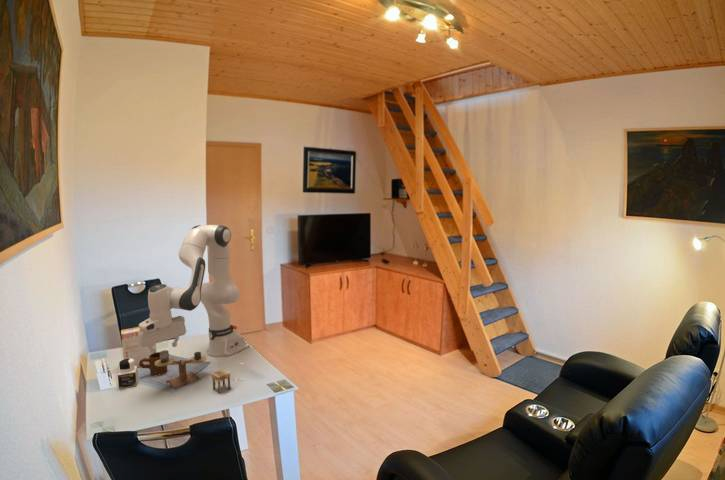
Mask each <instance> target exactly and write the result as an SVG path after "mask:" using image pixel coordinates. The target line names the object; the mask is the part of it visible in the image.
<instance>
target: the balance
mask: <svg viewBox="0 0 725 480" xmlns="http://www.w3.org/2000/svg"><path fill="white" fill-rule="evenodd" d="M193 354H194V356H192V357H190V358H189V359H188V360H186V359H185V360H183V359H180V360H176V361H175V358H174V357H169V361H168V362H166V363H161V362H160V359H159V360H157V361H156V362H155V366H167V367H168V366H172V365H173V366H175V365H178V374H179V375H178V376H176V377H174V378H171V379H167V380H166V382H167V383H169V384H170V385H171V386H172V387H173V388H172V387H171V386H170V385H169V386H170V387H171V388H172V389H174V390H177V389H180V388H182V387H185V386H187V385H190V384H192V383H195V382H198V381H200V380H201V377H200V376H199V375H197V374H195V373H194V372H192V371H190V372H187V364H193V365H195V364H201V363H204V362H206V361H207V359H208V357H207V356H206V355H202V352H201V351H195V352H194V353H193ZM167 383H166V384H167Z"/></svg>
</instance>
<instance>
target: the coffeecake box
mask: <svg viewBox="0 0 725 480" xmlns="http://www.w3.org/2000/svg"><path fill="white" fill-rule="evenodd" d="M139 330H140V328H139V326H136V327H131V328H125V329H121V330H120V336H121V346H122V355H123V360H124V359H128V358H131V359H134V364H135V366H137V369H138V368H141V367H140V365H139V362H140V360H141V359H143V358H149V356H150V355H151V350H150V349H149V348H148V347H147V346H146V347H141V346H139V345H138V331H139ZM151 348H152V349H156V351H155V352H156V353H157V343H156V344H153V345H152V347H151ZM143 364H144V365H147V364H148V365H150V364H149V362H145V361H144V362H143Z"/></svg>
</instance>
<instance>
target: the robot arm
mask: <svg viewBox="0 0 725 480" xmlns="http://www.w3.org/2000/svg"><path fill="white" fill-rule="evenodd" d="M231 237H232V234H231V230H230V229H229V227H227V226H225V225H222V224H221V225H219V224H205V225H204V224H203V225H201V224H200V225H199V224H198V225H195V226H193V227H191V228H190V230H189V231H188V233H187V234H186V236H185V238H184V240H183V241H182V244H181V246H180V248H179V251H178V258H179V260H180V262H181V263H183V264H184V265H185V266H186V267H188V268H190V269H191V276H190V280H189V285H188V286H187V287H186V288H183V287H182V288H181V287H172V286H168V285H167V284H165V283H164V284H163V283H161V284H160V283H159V284H156V285H153V286H151V287H149V289H148V294H147V304H148V305H147V306H148V309H149V317H148V318H147V319H144V321H141V322H140V323H138V327H139V328H140V330H139V331H138V345H139V346H141V347H146V346H147V347H148V348H149V349H150V350H151V354H154V353H156V352H155V351H157V348H156V349H152V348H151V347H152V345H153V344H156V345H157V344H159V343H163V342H165V341H168V340H171V339H174V340H173V342H171V345H172V348H176V347H177V346H178V341H179V337H181V336H185V335H186V333H187V329H186V328H187V327H186V324H185V322H186V321H185V319H186V318H185V317H184V316H182V315H178V316H172V309H176V310H184V311H189V312H190V311H193V310H195V309H196V308H198V306H199V305H200V303H202V305H203V307H204V309H205V310H206V314H207V317H208V318H207V319H208V326H209V327H208V339H209V344H208V350H207V355H209V356H212V357H223V356H225V357H226V356H227V357H230V356H232V355H235V354H236V353H239V352H241V351H243V350H245V349H247V348H249V347H250V344H249V342H247V341H245V340H246V339H245V337H244V335H242V334H241V333H239V332H238V331H235V330H237V329H238V326H237V325H233V324H231V316H230V315H231V314H230V312H229V310H228V309H227V308H225V306H224V305H228V304H235V303H236V302H237V301H239V298H240V295H241V291H240V289H239V287H238V286H237V285H236V284H235V282H234V281H233V279H232V276H231V272H230V246H229V243H230V241H231ZM207 246H208V247H209V248H208V259H207V273H208V274H209V275H211V276H212V278H213V280H214V282H210V281H209V282H203V281H204V277H205V271H206V261H205V259H204V254H205V251H206V248H207ZM247 344H248V345H247Z"/></svg>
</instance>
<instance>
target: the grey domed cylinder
mask: <svg viewBox="0 0 725 480" xmlns="http://www.w3.org/2000/svg"><path fill="white" fill-rule="evenodd" d="M159 352H160V362H161V363H166V362H168V361H169V358H170V356H169V352H170V351H169V350H166V349H164V350H161V351H159Z"/></svg>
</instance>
